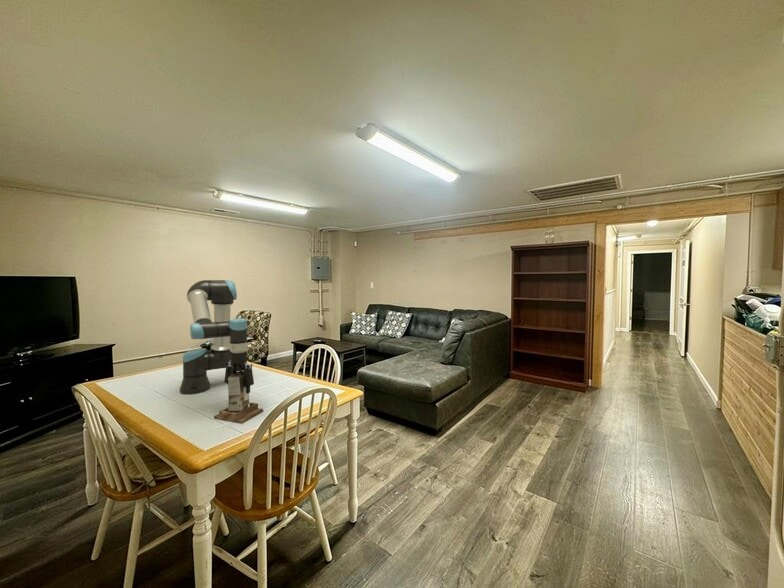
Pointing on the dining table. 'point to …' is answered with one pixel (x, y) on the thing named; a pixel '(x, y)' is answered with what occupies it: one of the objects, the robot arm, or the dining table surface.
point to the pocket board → (239, 414)
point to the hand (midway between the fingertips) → (239, 398)
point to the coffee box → (236, 392)
